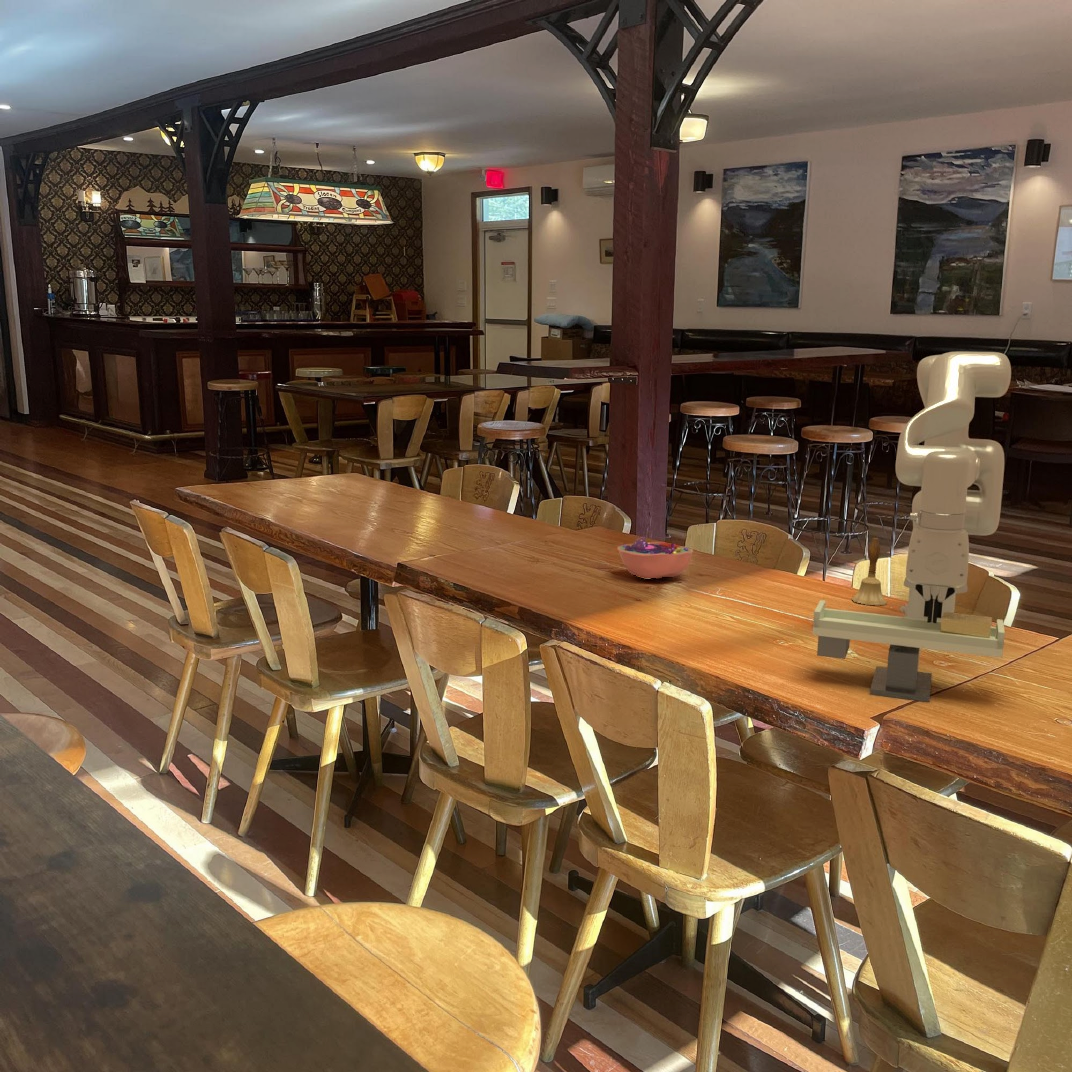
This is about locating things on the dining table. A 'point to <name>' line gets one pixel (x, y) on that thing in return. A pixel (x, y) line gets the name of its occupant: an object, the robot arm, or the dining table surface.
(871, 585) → the hand bell
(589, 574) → the dining table surface
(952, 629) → the block
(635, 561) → the cell model
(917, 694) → the pivot stand
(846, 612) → the balance beam
